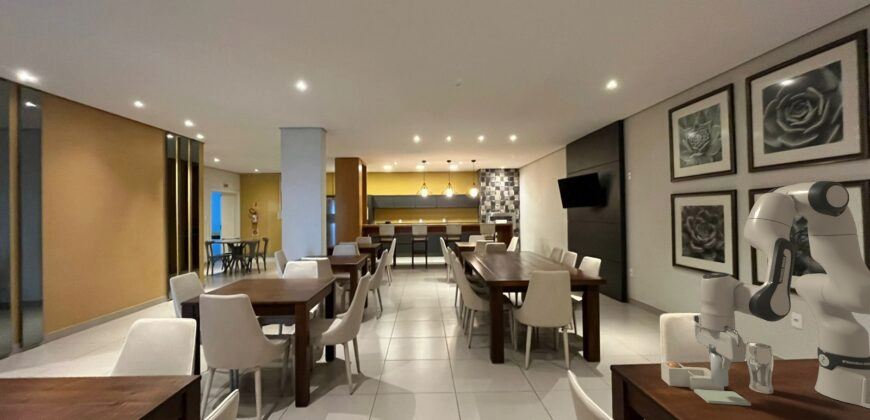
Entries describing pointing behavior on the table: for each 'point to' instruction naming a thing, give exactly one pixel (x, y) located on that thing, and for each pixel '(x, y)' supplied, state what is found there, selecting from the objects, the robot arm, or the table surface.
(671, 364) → the release button
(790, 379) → the table surface
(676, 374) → the housing
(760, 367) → the beer glass
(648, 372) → the table surface
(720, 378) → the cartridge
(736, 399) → the mat
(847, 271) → the robot arm
